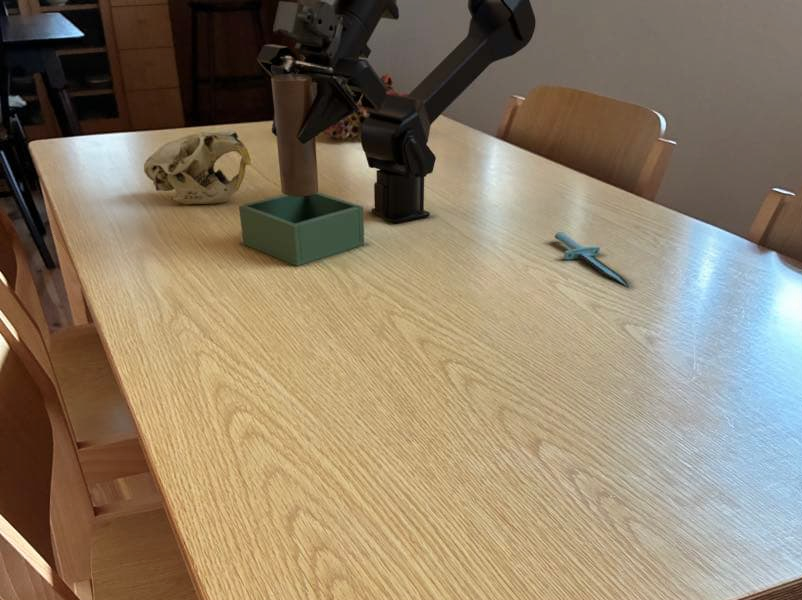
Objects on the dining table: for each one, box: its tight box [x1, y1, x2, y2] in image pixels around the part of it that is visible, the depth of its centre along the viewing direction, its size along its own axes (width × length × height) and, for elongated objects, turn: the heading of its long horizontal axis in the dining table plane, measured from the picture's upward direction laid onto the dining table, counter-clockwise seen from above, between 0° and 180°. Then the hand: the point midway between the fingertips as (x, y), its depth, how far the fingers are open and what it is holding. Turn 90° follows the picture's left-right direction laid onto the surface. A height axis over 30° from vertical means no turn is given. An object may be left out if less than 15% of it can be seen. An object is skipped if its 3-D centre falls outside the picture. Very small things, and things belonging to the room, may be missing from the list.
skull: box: [143, 129, 251, 205], centre depth 121 cm, size 10×16×10 cm, turn 78°
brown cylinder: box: [270, 74, 320, 197], centre depth 100 cm, size 5×5×13 cm
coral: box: [322, 73, 409, 141], centre depth 155 cm, size 18×13×15 cm
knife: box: [554, 231, 629, 288], centre depth 103 cm, size 17×1×5 cm
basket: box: [238, 191, 365, 267], centre depth 107 cm, size 12×12×5 cm
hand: (287, 137), depth 100 cm, fingers closed on brown cylinder, 5 cm apart
